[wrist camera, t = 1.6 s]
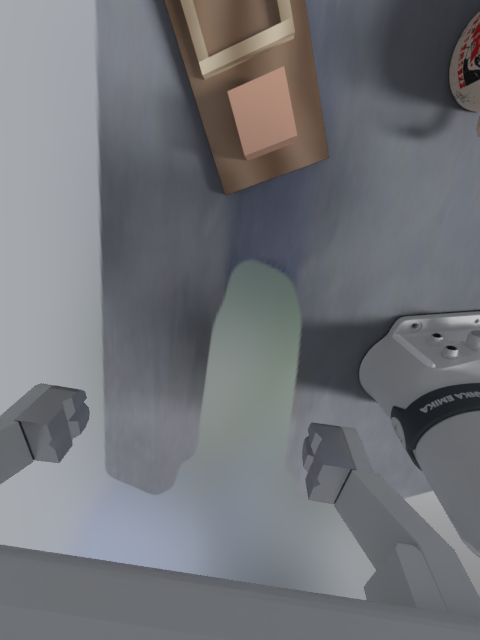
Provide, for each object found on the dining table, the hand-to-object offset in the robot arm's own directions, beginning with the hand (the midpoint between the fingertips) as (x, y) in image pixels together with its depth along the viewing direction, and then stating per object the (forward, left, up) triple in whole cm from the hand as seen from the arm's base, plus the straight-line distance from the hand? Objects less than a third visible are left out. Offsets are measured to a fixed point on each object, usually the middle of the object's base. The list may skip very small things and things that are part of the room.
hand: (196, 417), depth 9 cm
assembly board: (-6, -17, -29) cm, 34 cm away
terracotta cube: (-6, -12, -27) cm, 30 cm away
